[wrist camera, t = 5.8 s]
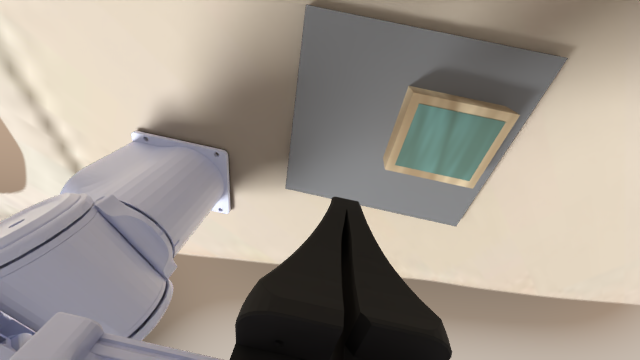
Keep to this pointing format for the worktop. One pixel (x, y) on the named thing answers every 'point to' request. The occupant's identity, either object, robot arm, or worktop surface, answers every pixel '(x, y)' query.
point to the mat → (394, 106)
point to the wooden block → (446, 136)
